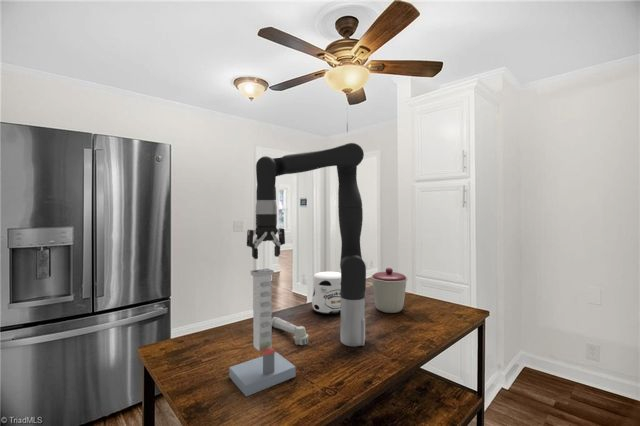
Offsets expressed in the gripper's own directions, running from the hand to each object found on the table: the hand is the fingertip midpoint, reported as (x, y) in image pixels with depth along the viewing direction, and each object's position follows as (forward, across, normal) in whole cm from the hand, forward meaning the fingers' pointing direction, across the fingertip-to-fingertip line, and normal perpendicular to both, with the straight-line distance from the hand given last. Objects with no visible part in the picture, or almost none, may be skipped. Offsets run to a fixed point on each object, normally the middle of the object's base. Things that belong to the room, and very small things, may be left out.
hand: (266, 257), depth 110 cm
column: (+24, -10, -16) cm, 31 cm away
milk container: (+33, +43, +17) cm, 57 cm away
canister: (+33, +68, 0) cm, 76 cm away
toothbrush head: (+34, +12, +5) cm, 36 cm away
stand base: (+33, -10, -16) cm, 38 cm away
